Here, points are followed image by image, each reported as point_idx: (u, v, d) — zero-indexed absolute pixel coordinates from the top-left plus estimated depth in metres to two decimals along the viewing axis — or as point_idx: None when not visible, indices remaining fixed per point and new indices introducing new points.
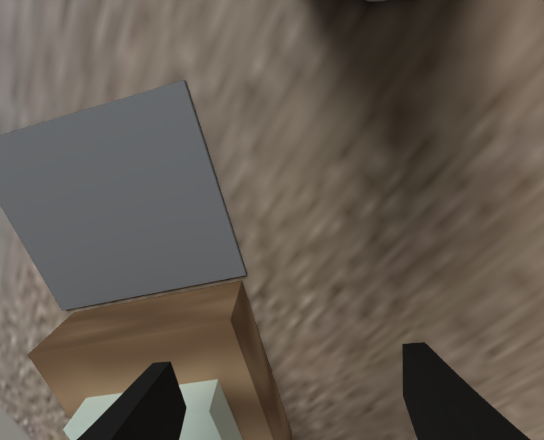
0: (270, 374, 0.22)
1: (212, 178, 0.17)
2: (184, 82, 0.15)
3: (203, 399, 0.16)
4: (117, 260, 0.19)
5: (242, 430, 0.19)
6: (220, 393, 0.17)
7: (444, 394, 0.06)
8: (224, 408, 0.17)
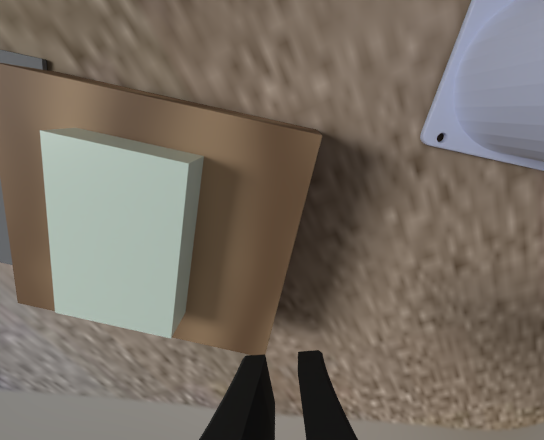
0: (192, 102, 0.16)
1: None
2: None
3: None
4: None
5: (173, 143, 0.13)
6: (85, 131, 0.13)
7: (306, 402, 0.07)
8: (103, 136, 0.13)
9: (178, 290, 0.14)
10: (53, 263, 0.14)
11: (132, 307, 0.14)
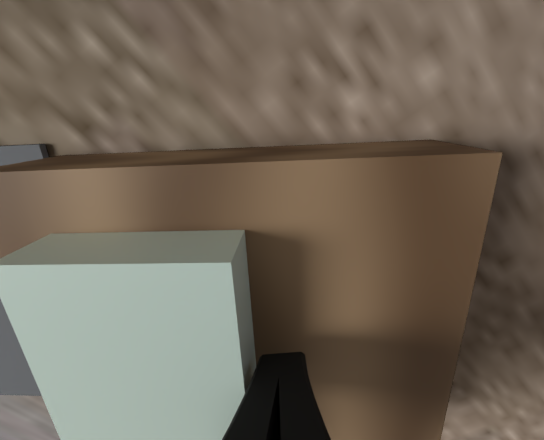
0: (247, 148, 0.11)
1: None
2: None
3: None
4: None
5: (252, 223, 0.08)
6: (64, 238, 0.08)
7: (284, 403, 0.07)
8: (89, 240, 0.08)
9: None
10: (62, 438, 0.09)
11: None
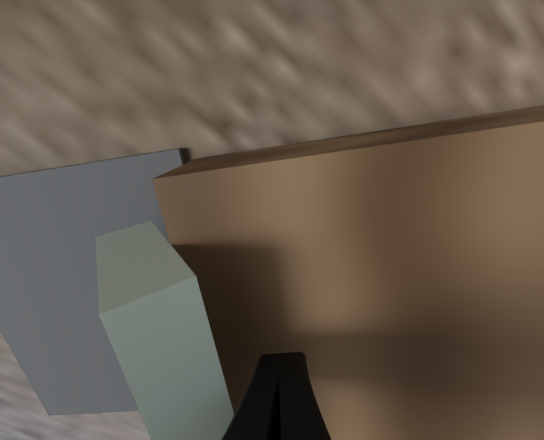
0: (402, 128, 0.11)
1: (30, 176, 0.12)
2: None
3: None
4: None
5: (471, 198, 0.08)
6: (144, 228, 0.11)
7: (284, 403, 0.07)
8: (140, 236, 0.10)
9: None
10: None
11: None
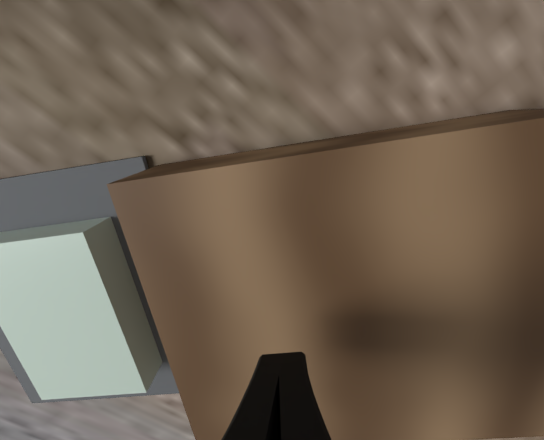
0: (336, 138, 0.12)
1: (10, 181, 0.14)
2: None
3: (104, 233, 0.13)
4: None
5: (375, 200, 0.09)
6: (73, 231, 0.12)
7: (284, 403, 0.07)
8: (57, 231, 0.13)
9: None
10: (145, 320, 0.16)
11: None
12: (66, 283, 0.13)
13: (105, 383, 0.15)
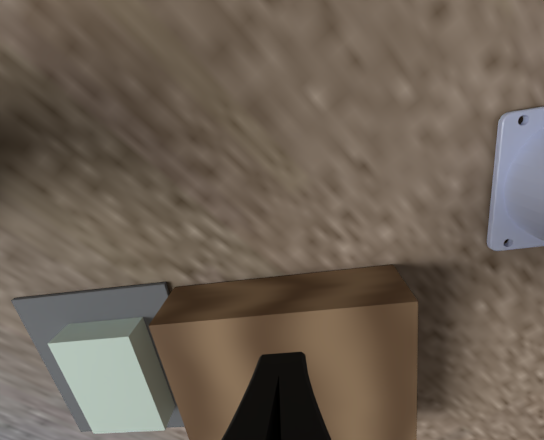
0: (286, 279, 0.19)
1: (78, 295, 0.21)
2: (13, 300, 0.22)
3: (139, 330, 0.21)
4: None
5: (299, 338, 0.16)
6: (121, 333, 0.20)
7: (285, 403, 0.07)
8: (110, 332, 0.20)
9: None
10: (164, 379, 0.23)
11: None
12: (115, 364, 0.20)
13: (137, 423, 0.22)
